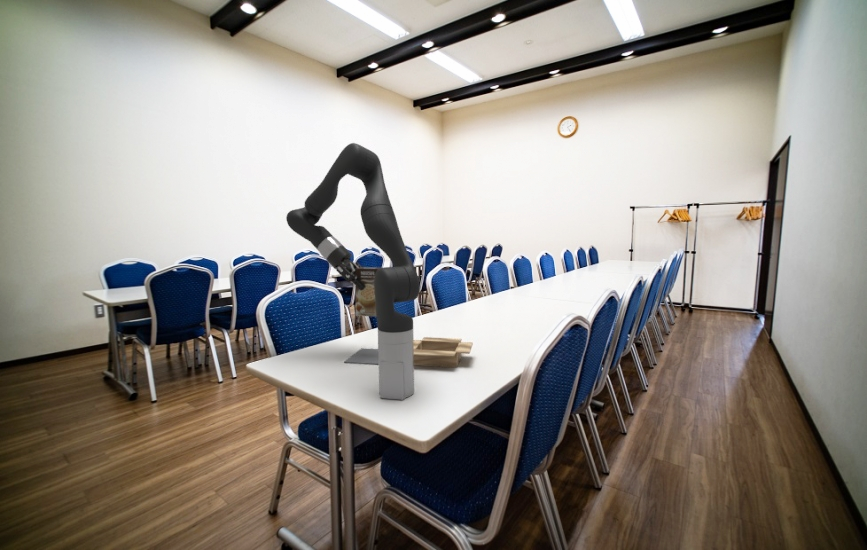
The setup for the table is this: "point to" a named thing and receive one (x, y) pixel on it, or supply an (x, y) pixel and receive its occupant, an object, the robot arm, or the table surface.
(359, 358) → the mat
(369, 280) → the coffee box
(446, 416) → the table surface
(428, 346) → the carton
